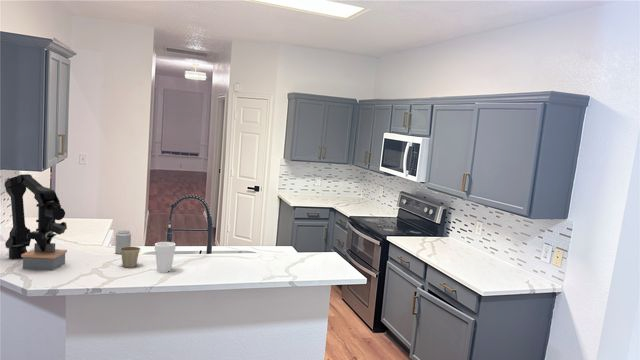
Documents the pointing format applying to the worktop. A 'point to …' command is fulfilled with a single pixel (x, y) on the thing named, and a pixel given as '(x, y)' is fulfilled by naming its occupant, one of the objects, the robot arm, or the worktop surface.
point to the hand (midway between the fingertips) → (44, 250)
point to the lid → (48, 253)
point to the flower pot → (129, 256)
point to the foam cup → (164, 255)
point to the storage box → (43, 263)
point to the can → (122, 240)
